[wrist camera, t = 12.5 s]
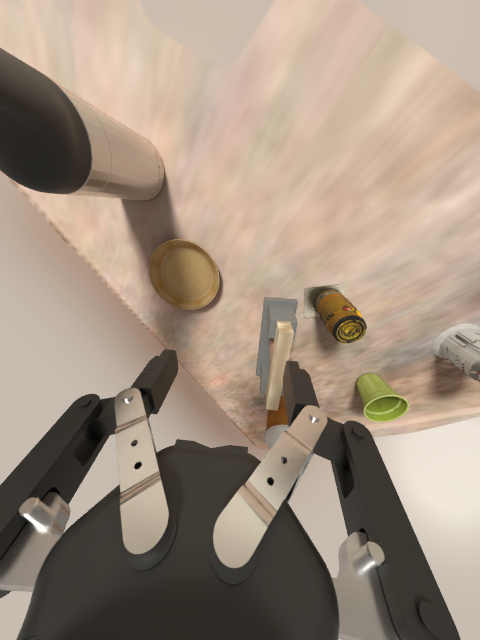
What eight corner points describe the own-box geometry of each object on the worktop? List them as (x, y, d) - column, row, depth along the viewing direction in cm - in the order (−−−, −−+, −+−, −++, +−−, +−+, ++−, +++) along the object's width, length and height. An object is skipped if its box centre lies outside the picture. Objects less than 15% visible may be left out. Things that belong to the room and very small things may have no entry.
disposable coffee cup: (271, 388, 57) (274, 427, 47) (301, 397, 58) (310, 439, 48) (258, 407, 62) (258, 447, 51) (286, 416, 63) (291, 457, 52)
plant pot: (394, 382, 52) (417, 411, 45) (361, 398, 56) (376, 427, 49) (375, 362, 50) (396, 389, 42) (342, 380, 54) (356, 407, 46)
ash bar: (265, 394, 47) (265, 409, 43) (277, 320, 37) (278, 332, 33) (276, 395, 46) (277, 410, 43) (290, 322, 37) (293, 333, 33)
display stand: (256, 371, 55) (255, 396, 47) (264, 297, 44) (265, 315, 36) (281, 373, 54) (285, 399, 47) (296, 299, 43) (304, 318, 36)
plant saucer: (147, 236, 40) (141, 238, 38) (220, 238, 39) (217, 240, 37) (161, 303, 47) (156, 308, 45) (222, 306, 46) (220, 311, 44)
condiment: (343, 314, 44) (369, 346, 34) (304, 317, 45) (317, 350, 35) (346, 283, 41) (376, 308, 30) (304, 287, 42) (319, 313, 32)
